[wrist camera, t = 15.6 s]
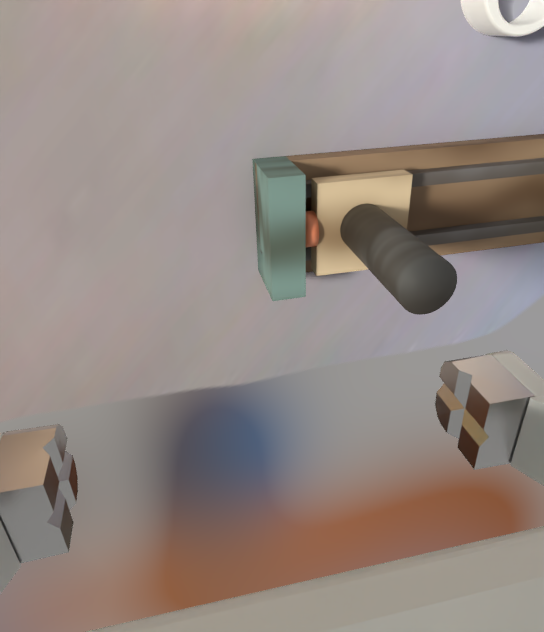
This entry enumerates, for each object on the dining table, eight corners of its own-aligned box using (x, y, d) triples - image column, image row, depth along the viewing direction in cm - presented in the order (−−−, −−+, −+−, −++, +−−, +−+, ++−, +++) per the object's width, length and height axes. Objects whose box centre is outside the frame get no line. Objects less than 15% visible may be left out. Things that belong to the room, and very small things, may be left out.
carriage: (311, 178, 36) (373, 235, 26) (403, 169, 37) (496, 221, 27) (310, 267, 39) (365, 348, 29) (394, 257, 40) (474, 331, 31)
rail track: (252, 159, 37) (268, 178, 32) (584, 130, 42) (640, 143, 37) (258, 270, 42) (272, 301, 37) (557, 233, 46) (603, 256, 42)
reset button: (295, 207, 37) (305, 218, 35) (309, 205, 37) (319, 217, 35) (296, 240, 38) (305, 253, 36) (309, 238, 39) (318, 251, 36)
